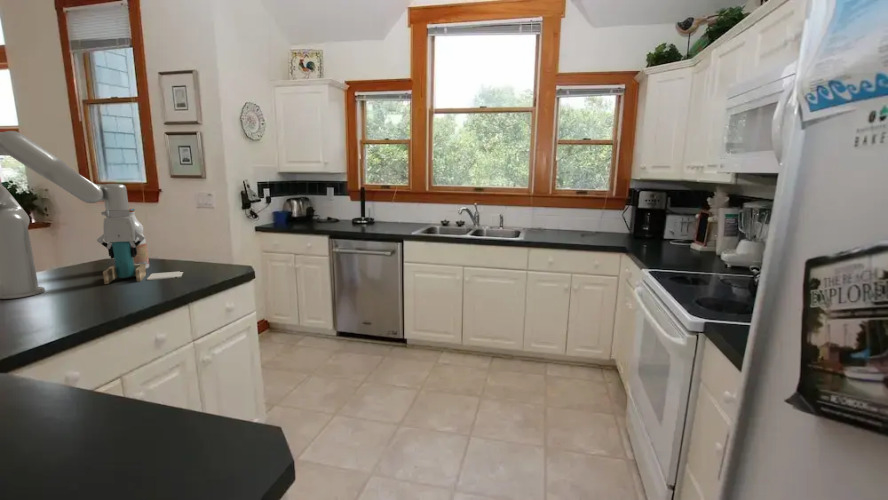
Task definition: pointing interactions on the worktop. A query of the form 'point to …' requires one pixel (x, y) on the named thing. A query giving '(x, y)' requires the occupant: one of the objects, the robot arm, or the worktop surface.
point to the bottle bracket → (111, 274)
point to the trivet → (164, 275)
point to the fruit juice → (141, 248)
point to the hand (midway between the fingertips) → (123, 256)
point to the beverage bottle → (123, 259)
